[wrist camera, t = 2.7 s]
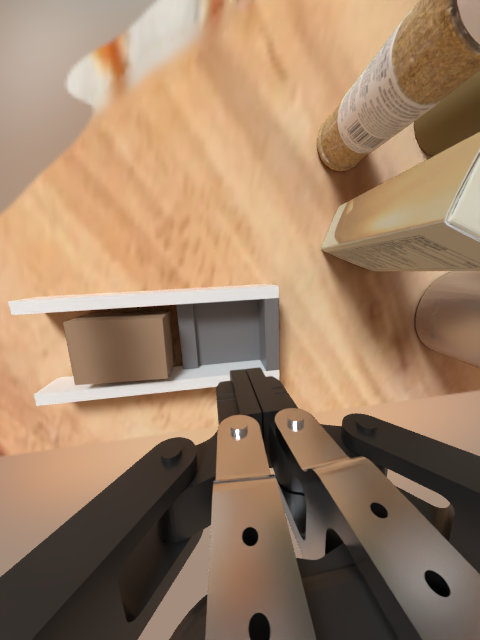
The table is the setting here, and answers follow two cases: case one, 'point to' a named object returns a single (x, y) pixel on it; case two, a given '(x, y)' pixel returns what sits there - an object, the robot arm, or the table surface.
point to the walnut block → (120, 346)
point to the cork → (450, 119)
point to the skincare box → (416, 217)
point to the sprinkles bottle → (404, 79)
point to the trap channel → (181, 337)
